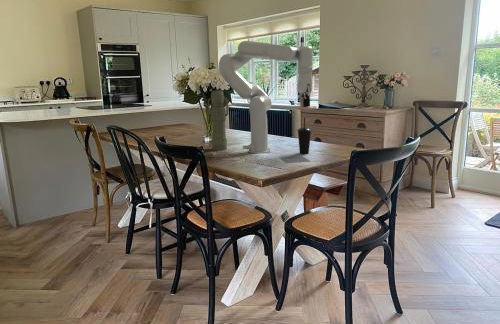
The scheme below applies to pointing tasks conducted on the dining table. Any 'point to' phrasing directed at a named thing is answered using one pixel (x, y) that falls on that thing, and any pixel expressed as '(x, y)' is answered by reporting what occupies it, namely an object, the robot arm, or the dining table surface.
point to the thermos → (218, 120)
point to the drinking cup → (304, 139)
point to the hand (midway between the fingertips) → (305, 105)
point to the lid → (303, 105)
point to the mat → (294, 159)
